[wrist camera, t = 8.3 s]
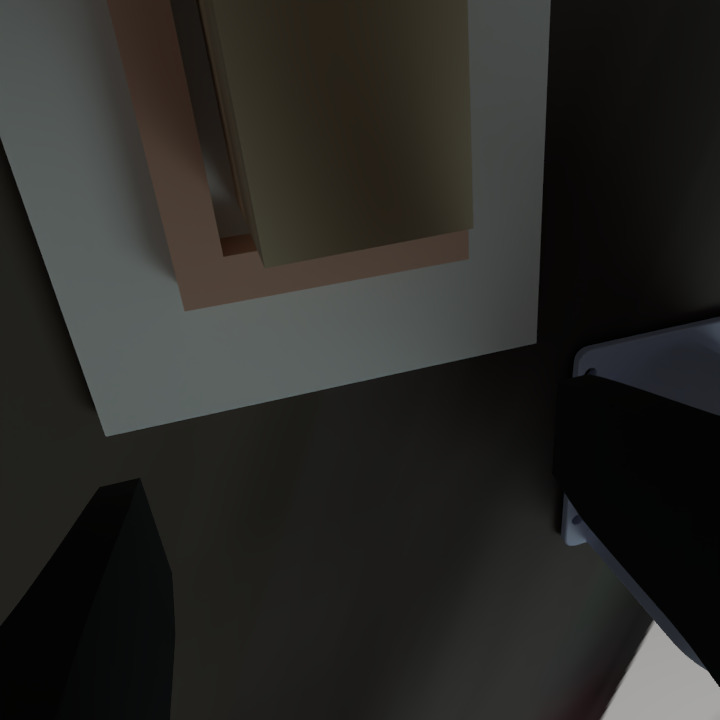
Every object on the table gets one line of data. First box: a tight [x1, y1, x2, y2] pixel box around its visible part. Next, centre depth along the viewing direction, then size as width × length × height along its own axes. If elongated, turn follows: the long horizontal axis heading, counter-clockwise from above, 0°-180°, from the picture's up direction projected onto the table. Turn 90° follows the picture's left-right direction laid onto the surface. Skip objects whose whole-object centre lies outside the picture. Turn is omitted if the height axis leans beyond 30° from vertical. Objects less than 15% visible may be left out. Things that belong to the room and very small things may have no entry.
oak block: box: [196, 0, 473, 268], centre depth 12 cm, size 4×6×6 cm, turn 7°
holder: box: [0, 0, 551, 437], centre depth 15 cm, size 18×14×3 cm
